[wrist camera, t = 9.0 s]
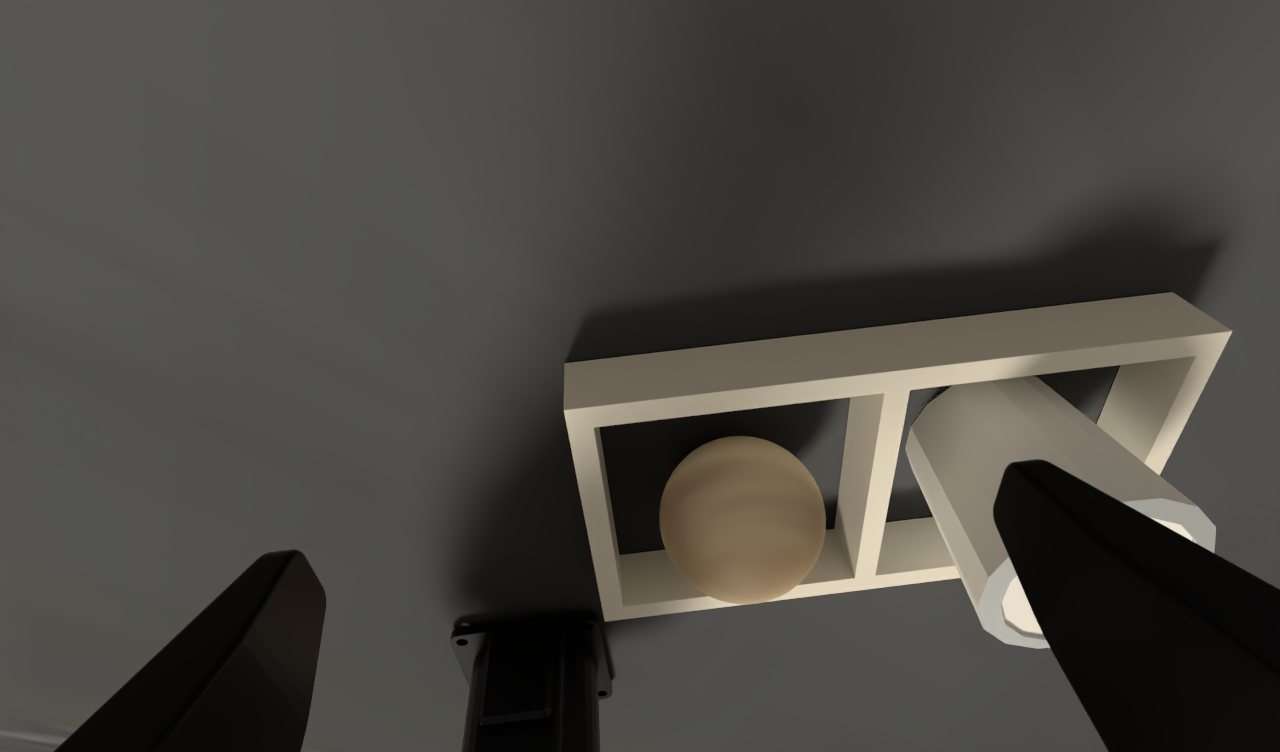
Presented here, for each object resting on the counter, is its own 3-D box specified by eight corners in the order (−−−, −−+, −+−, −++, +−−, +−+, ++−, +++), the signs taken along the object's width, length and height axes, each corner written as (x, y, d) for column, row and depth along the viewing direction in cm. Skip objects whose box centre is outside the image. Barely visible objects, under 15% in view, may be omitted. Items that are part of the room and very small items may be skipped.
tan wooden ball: (795, 505, 27) (841, 628, 22) (657, 522, 27) (674, 649, 22) (804, 394, 24) (858, 512, 19) (645, 413, 24) (663, 536, 19)
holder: (1078, 511, 29) (1117, 558, 26) (602, 569, 28) (604, 621, 26) (1172, 292, 22) (1232, 331, 20) (564, 363, 22) (563, 410, 20)
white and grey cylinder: (1092, 438, 26) (1237, 588, 20) (929, 519, 28) (1019, 677, 22) (1041, 320, 23) (1198, 461, 17) (859, 423, 25) (945, 579, 19)
